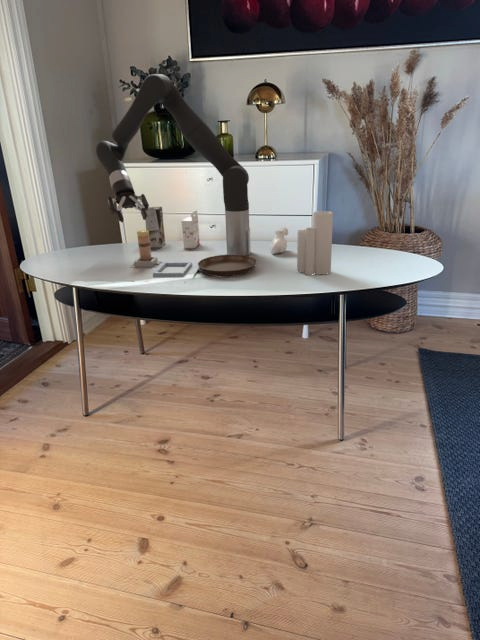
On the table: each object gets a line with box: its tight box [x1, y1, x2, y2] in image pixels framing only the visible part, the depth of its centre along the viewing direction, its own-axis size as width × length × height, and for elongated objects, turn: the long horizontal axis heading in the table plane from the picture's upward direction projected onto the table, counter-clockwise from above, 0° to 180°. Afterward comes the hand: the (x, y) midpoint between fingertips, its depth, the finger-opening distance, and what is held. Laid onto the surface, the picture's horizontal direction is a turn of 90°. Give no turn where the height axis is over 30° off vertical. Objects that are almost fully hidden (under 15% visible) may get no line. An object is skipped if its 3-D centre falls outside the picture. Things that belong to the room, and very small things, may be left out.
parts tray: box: [152, 261, 193, 278], centre depth 165 cm, size 10×14×3 cm
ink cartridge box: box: [180, 209, 201, 249], centre depth 204 cm, size 9×5×15 cm, turn 168°
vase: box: [296, 210, 334, 276], centre depth 159 cm, size 11×7×20 cm, turn 83°
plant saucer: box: [197, 254, 258, 278], centre depth 168 cm, size 21×21×3 cm
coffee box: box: [144, 206, 166, 249], centre depth 207 cm, size 9×6×16 cm
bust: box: [269, 226, 289, 255], centre depth 189 cm, size 12×8×11 cm
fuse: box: [136, 229, 152, 261], centre depth 172 cm, size 4×4×12 cm
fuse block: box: [129, 256, 163, 269], centre depth 174 cm, size 10×8×4 cm
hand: (133, 219), depth 177 cm, fingers open, 8 cm apart
